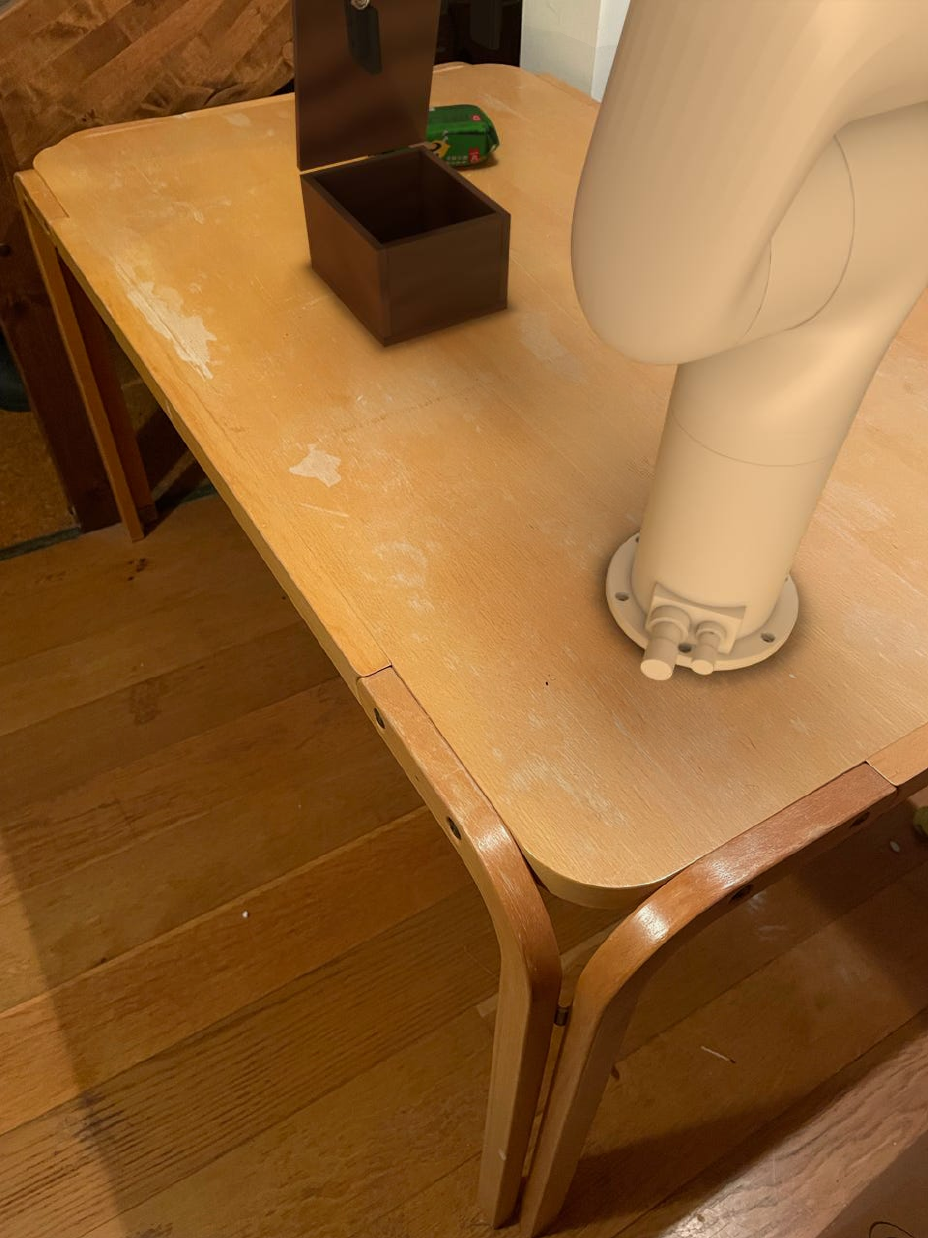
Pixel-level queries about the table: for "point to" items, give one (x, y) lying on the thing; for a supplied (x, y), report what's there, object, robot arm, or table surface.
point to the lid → (361, 81)
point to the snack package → (458, 135)
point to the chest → (407, 243)
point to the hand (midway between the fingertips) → (427, 56)
